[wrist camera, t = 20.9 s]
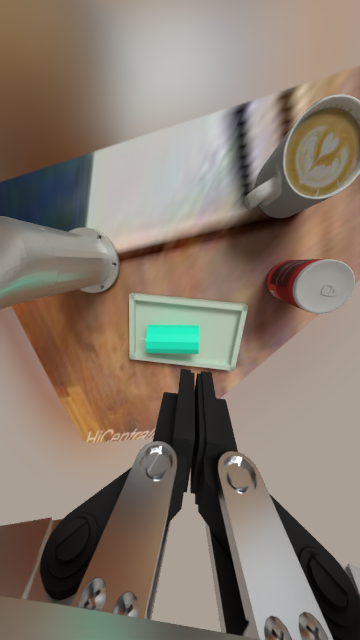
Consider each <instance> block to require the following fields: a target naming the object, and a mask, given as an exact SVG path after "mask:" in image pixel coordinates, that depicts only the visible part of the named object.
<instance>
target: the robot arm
mask: <svg viewBox="0 0 360 640" xmlns="http://www.w3.org/2000/svg"><path fill="white" fill-rule="evenodd" d="M101 237H102V238H101ZM115 263H116V266H115ZM119 270H120V262H119V256H118V253H117V251H116V249H115V247H114V245H113V244H112V242H111V241H110V240H109V239H108V238H107V237H106V236H105V235H103V234H102V233H100V232H98V231H96V230H94V229H90V228H83V227H82V228H76V229H73V230H71V231H69V232H66V231H62V230H58V229H53V228H49V227H45V226H41V225H37V224H32V223H28V222H24V221H20V220H17V219H12V218H8V217H2V216H0V309H3V308H6V307H9V306H12V305H16V304H20V303H24V302H27V301H32V300H36V299H40V298H44V297H49V296H53V295H57V294H61V293H65V292H70V291H74V290H78V289H79V290H81V291H84V292H88V293H98V292H102V291H105V290H107V289H108V288H110V287H111V286H112V285H113V284H114V283H115V281H116V279H117V277H118V275H119ZM103 286H104V287H103ZM190 468H191V493H194V494H195V504H198V511H199V513H200V514H201V516H202V517H203V519H204V520H205V522H206V533H207V539H208V546H209V553H210V559H211V566H212V573H213V579H214V586H215V593H216V600H217V606H218V613H219V620H220V627H221V632H216V631H210V630H205V629H199V628H193V627H188V626H182V625H176V624H170V623H164V622H159V621H154V620H151V618H152V613H153V608H154V603H155V598H156V593H157V587H158V582H159V577H160V572H161V567H162V562H163V557H164V552H165V547H166V542H167V537H168V532H169V526H170V521H171V520H172V518H173V517H174V516H175V515H176V514H177V513H178V512H179V510H181V506H182V500H183V493H184V492H187V487H188V481H189V474H190ZM0 640H360V569H359V568H357V567H355V566H352V565H350V564H348V565H347V567H346V566H343V565H341V564H339V563H338V562H337V561H336V559H335V558H334V557H333V556H332V555H331V554H330V553H329V552H328V551H327V550H326V549H325V548H324V547H323V546H322V545H321V544H320V543H319V542H318V541H317V540H316V539H315V538H314V537H313V536H312V535H311V534H310V533H309V532H308V531H307V530H306V529H305V528H304V527H303V526H302V525H301V524H299V522H298V521H297V520H296V519H295V518H293V517H292V516H291V515H290V514H289V513H288V512H287V511H286V510H285V509H284V508H283V507H282V506H281V505H280V504H279V503H278V502H277V501H276V500H275V499H274V498H273V497H272V496H271V495H270V494H269V492H268V490H267V488H266V486H265V483H264V481H263V479H262V477H261V474H260V472H259V471H258V469H257V467H256V466H255V464H254V463H253V462H252V461H251V460H250V459H249V458H248V457H246V456H245V455H244V454H241V453H239V452H238V451H237V446H236V442H235V438H234V434H233V429H232V425H231V420H230V416H229V412H228V408H227V404H226V400H225V399H217V398H216V397H215V391H214V385H213V379H212V373H211V372H204V371H201V374H198V373H197V378H196V385H195V388H194V373H191V370H187V369H181V374H180V383H179V391H178V394H176V393H168V392H164V394H163V399H162V403H161V408H160V412H159V416H158V421H157V425H156V430H155V434H154V439H153V442H151V443H149V444H147V445H145V446H144V447H143V448H142V449H141V450H140V452H139V453H138V455H137V457H136V459H135V461H134V464H133V466H132V467H131V468H130V469H129V470H128V471H126V472H125V473H123V474H122V475H121V476H119V477H118V478H117V479H115V480H114V481H113V482H111V483H110V484H108V485H107V486H106V487H104V488H103V489H102V490H100V491H99V492H98V493H96V494H95V495H94V496H92V497H91V498H89V499H88V500H87V501H85V502H84V503H83V504H81V505H80V506H79V507H77V508H76V509H75V510H73V511H72V512H71V513H69V514H68V515H67V516H66V517H65V518H64V519H59V520H53V521H52V518H45V519H39V520H33V521H27V522H21V523H15V524H10V525H3V526H0Z"/></svg>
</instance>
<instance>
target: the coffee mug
mask: <svg viewBox="0 0 360 640" xmlns="http://www.w3.org/2000/svg"><path fill="white" fill-rule="evenodd" d="M359 174H360V100H358V99H357V98H355V97H352V96H349V95H340V94H339V95H333V96H329V97H326V98H323V99H321V100H319V101H317V102H316V103H314V104H313V105H312V106H310V107H309V108H308V109H307V110H306V111H305V112H304V113H303V114H302V115H301V116H300V117H299V118H298V120H297V121H296V122H295V123H294V125H293V126H292V127H291V129H290V130H289V132H288V133H287V134H286V136H285V137H284V138H283V140H282V141H281V143H280V144H279V145H278V147H277V148H276V149H275V151H274V152H273V153H272V155H271V156H270V158H269V159H268V160H267V162H266V163H265V164H264V166H263V167H262V169H261V171H260V173H259V175H258V178H257V181H256V187H255V189H254V190H253V191H252V192H251V193H249V194H248V195H247V197H246V198H245V206H246V208H247V209H248V210H251V209H253V208H255V207H257V206H259V207H260V208H261V210H262V211H263V212H264V213H265V214H267V215H269V216H271V217H274V218H286V217H289V216H292V215H294V214H296V213H298V212H300V211H302V210H304V209H307V208H309V207H311V206H313V205H315V204H317V203H319V202H321V201H323V200H326V199H328V198H330V197H332V196H334V195H336V194H338V193H339V192H341V191H342V190H344V189H345V188H346V187H347V186H349V185H350V184H351V183H352V182H353V181H354V180H355V179H356V177H357V176H358V175H359Z"/></svg>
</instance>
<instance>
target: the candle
mask: <svg viewBox="0 0 360 640" xmlns="http://www.w3.org/2000/svg"><path fill="white" fill-rule="evenodd" d="M141 339H145V338H141ZM145 345H146V352H147V353H173V354H199V325H148V326H147V333H146V340H145Z"/></svg>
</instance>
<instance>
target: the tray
mask: <svg viewBox="0 0 360 640" xmlns="http://www.w3.org/2000/svg"><path fill="white" fill-rule="evenodd" d="M247 310H248V306H247V305H246V304H244V303H234V302H224V301H214V300H204V299H194V298H184V297H174V296H164V295H154V294H144V293H134V292H133V293H131V294H129V344H130V359H135V360H143V361H152V362H161V363H169V364H178V365H187V366H195V367H204V368H213V369H221V370H230V371H234V370H235V366H236V361H237V356H238V352H239V347H240V343H241V338H242V333H243V329H244V324H245V320H246V315H247ZM148 325H199V354H173V353H147V352H146V345H145V340H146V333H147V326H148ZM141 338H145V339H141Z"/></svg>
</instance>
